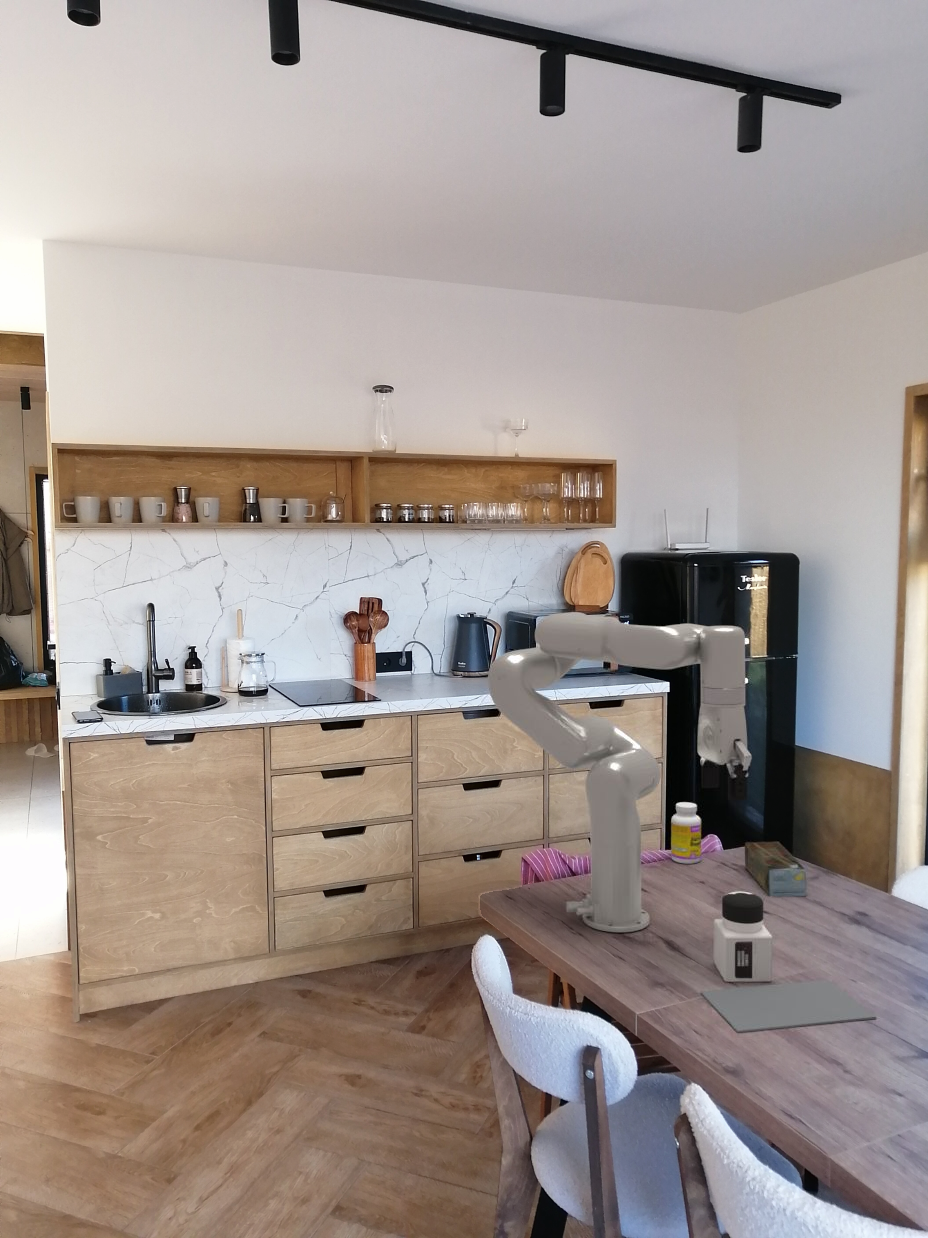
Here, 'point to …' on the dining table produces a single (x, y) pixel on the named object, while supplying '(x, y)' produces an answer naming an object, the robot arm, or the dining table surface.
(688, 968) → the dining table surface
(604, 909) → the robot arm
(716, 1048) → the dining table surface
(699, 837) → the supplement bottle
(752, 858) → the beverage carton
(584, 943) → the dining table surface
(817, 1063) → the dining table surface
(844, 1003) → the rubber mat
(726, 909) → the container
